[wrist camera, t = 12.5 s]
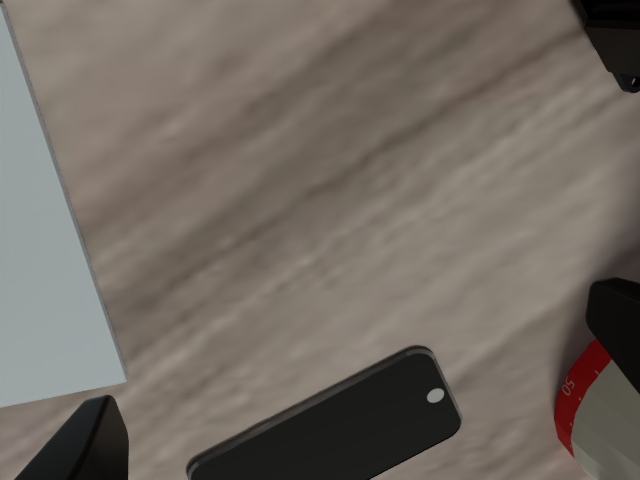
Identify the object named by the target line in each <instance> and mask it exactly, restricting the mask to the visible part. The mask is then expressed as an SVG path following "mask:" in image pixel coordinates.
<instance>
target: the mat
mask: <svg viewBox="0 0 640 480" xmlns="http://www.w3.org/2000/svg"><path fill="white" fill-rule="evenodd" d="M127 380H128V374H127V371H126V368H125V365H124V362H123V359H122V356H121V353H120V350H119V347H118V344H117V341H116V338H115V335H114V332H113V329H112V326H111V323H110V320H109V317H108V314H107V311H106V308H105V305H104V302H103V299H102V296H101V293H100V290H99V287H98V284H97V281H96V278H95V275H94V272H93V269H92V266H91V263H90V260H89V257H88V254H87V251H86V248H85V245H84V242H83V239H82V236H81V233H80V230H79V227H78V224H77V221H76V218H75V215H74V212H73V209H72V206H71V203H70V200H69V197H68V194H67V191H66V188H65V185H64V182H63V179H62V176H61V173H60V170H59V167H58V164H57V161H56V158H55V155H54V152H53V150H52V147H51V144H50V141H49V138H48V135H47V132H46V129H45V126H44V123H43V120H42V117H41V114H40V111H39V108H38V105H37V102H36V99H35V96H34V93H33V90H32V87H31V84H30V81H29V78H28V75H27V72H26V69H25V66H24V63H23V60H22V57H21V54H20V51H19V48H18V45H17V42H16V39H15V36H14V33H13V30H12V27H11V24H10V21H9V18H8V15H7V12H6V9H5V6H4V3H0V407H5V406H10V405H15V404H20V403H25V402H30V401H35V400H40V399H45V398H50V397H55V396H60V395H65V394H70V393H75V392H80V391H85V390H90V389H95V388H100V387H105V386H110V385H115V384H120V383H125V382H127Z"/></svg>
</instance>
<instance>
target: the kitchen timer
mask: <svg viewBox="0 0 640 480" xmlns="http://www.w3.org/2000/svg"><path fill="white" fill-rule="evenodd" d="M554 421H555V426H556V430H557V435H558V439H559V440H560V441H561V442H562V444H563V445H564V446H565V447H566V449H567V450H568V451H569V452H570V454H571V455H572V456H573V457H574V459H575V460H576V461H577V462H578V464H579V465H580V466H581V467H582V468H583V470H584V471H585V472H586V473H587V474H588V475H589V476H590V477H591V478H592V479H593V480H640V395H639V393H638V392H637V391H636V390H635V389H634V387H633V386H632V385H631V383H630V382H629V381H628V380H627V378H626V377H625V376H624V374H623V373H622V372H621V370H620V369H619V368H618V366H617V365H616V364H615V362H614V361H613V360H612V358H611V357H610V356H609V354H608V353H607V352H606V350H605V349H604V348H603V346H602V345H601V344H600V342H599V341H598V340H597V339H596V340H595V341H593V342H592V343H591V344H590V345H589V347H588V348H587V349H586V350H585V352H584V353H583V354H582V355H581V357H580V358H579V359H578V361H577V362H576V363H575V364H574V366H573V367H572V368H571V369H570V371H569V373H568V376H567V378H566V380H565V382H564V384H563V386H562V388H561V390H560V392H559V394H558V398H557V404H556V410H555V416H554Z"/></svg>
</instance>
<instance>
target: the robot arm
mask: <svg viewBox="0 0 640 480" xmlns="http://www.w3.org/2000/svg"><path fill="white" fill-rule="evenodd" d="M573 1H574V3H575V5H576V7H577V8H578V10H579V12H580V14H581V16H582V18H583V19H584V29H585V31H586V33H587V35H588V36H589V38H590V40H591V42H592V44H593V46H594V47H595V49H596V51H597V53H598V55H599V56H600V58H601V60H602V62H603V64H604V66H605V67H606V69H607V71H608V72H612V73H613V75H614V76H615V78H616V80H617V82H618V84H619V86H620V87H621V89H622V90H623V91H625V92H630V93H637V92H639V91H640V0H573ZM634 77H635V82H634V83H633V84H632V80H633V79H634ZM585 318H586V323H587V325H588V327H589V329H590V330H591V332H592V333H593V334H594V336H595V337H596V338H597V340H598V341H599V342H600V344H601V345H602V346H603V348H604V349H605V350H606V352H607V353H608V354H609V356H610V357H611V358H612V360H613V361H614V362H615V364H616V365H617V366H618V368H619V369H620V370H621V372H622V373H623V374H624V376H625V377H626V378H627V380H628V381H629V382H630V383H631V385H632V386H633V387H634V389H635V390H636V391H637V392H638V393H639V395H640V283H637V282H633V281H629V280H625V279H621V278H617V277H609V278H605V279H601V280H597V281H595V282H593V283H592V285H591V286H590V290H589V296H588V302H587V308H586V315H585ZM128 456H129V440H128V433H127V429H126V426H125V424H124V421H123V419H122V416H121V414H120V411H119V409H118V406H117V403H116V401H115V399H114V398H113V397H112V396H111V395H104V396H100V397H95V398H91V399H88V400H86V401H84V402H83V403H82V404H81V405H80V406H79V407H78V409H77V410H76V411H75V412H74V413H73V414H72V415H71V416H70V418H69V419H68V420H67V421H66V422H65V423H64V424H63V425H62V426H61V428H60V429H59V430H58V431H57V432H56V433H55V434H54V435H53V437H52V438H51V439H50V440H49V441H48V442H47V443H46V444H45V446H44V447H43V448H42V449H41V450H40V451H39V452H38V453H37V455H36V456H35V457H34V458H33V459H32V460H31V461H30V462H29V464H28V465H27V466H26V467H25V468H24V469H23V470H22V471H21V472H20V474H19V475H18V476H17V477H16V478H15V479H14V480H128Z"/></svg>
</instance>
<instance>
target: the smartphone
mask: <svg viewBox="0 0 640 480" xmlns="http://www.w3.org/2000/svg"><path fill="white" fill-rule="evenodd" d="M461 424H462V415H461V413H460V410H459V408H458V406H457V404H456V402H455V399H454V397H453V395H452V393H451V391H450V388H449V386H448V384H447V382H446V380H445V378H444V376H443V374H442V371H441V369H440V367H439V365H438V363H437V361H436V358H435V356H434V355H433V353H432V352H431V351H430V350H428V349H426V348H422V347H414V348H410V349H407V350H405V351H403V352H401V353H399V354H397V355H395V356H393V357H391V358H390V359H388V360H386V361H384V362H382V363H380V364H378V365H376V366H374V367H372V368H370V369H368V370H366V371H364V372H363V373H361V374H359V375H357V376H355V377H353V378H351V379H349V380H347V381H345V382H343V383H341V384H339V385H337V386H336V387H334V388H332V389H330V390H328V391H326V392H324V393H322V394H320V395H318V396H316V397H314V398H312V399H310V400H309V401H307V402H305V403H303V404H301V405H299V406H297V407H295V408H293V409H291V410H289V411H287V412H285V413H283V414H282V415H280V416H278V417H276V418H274V419H272V420H270V421H268V422H266V423H264V424H262V425H260V426H258V427H256V428H254V429H253V430H251V431H249V432H247V433H245V434H243V435H241V436H239V437H237V438H235V439H233V440H231V441H229V442H228V443H226V444H224V445H222V446H220V447H218V448H216V449H214V450H212V451H210V452H208V453H206V454H204V455H202V456H201V457H199V458H197V459H196V460H194V461H193V462H192V464H191V465H190V467H189V469H188V480H370V479H371V478H373V477H375V476H377V475H379V474H381V473H383V472H385V471H387V470H389V469H391V468H393V467H394V466H396V465H398V464H400V463H402V462H404V461H406V460H408V459H410V458H412V457H414V456H416V455H418V454H419V453H421V452H423V451H425V450H427V449H429V448H431V447H433V446H435V445H437V444H439V443H441V442H442V441H444V440H446V439H448V438H450V437H452V436H453V435H454V434H455V433H456V432H457V431H458V430H459V428H460V426H461Z"/></svg>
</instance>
